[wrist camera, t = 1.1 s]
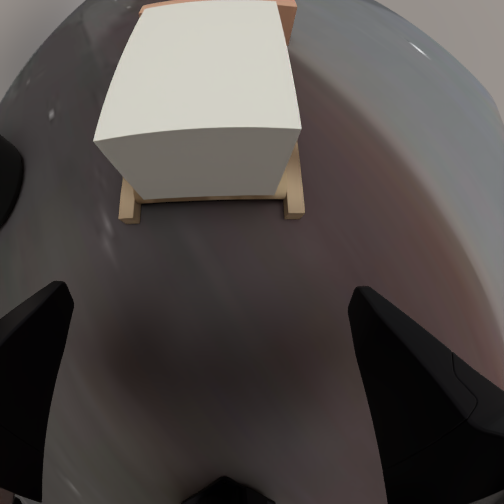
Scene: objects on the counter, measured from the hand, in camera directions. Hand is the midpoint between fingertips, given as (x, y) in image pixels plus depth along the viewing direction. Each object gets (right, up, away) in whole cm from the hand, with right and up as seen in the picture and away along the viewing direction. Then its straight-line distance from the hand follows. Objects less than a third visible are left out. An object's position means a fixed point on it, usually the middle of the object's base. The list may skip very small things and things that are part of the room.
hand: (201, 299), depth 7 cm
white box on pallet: (-2, +11, +11) cm, 16 cm away
